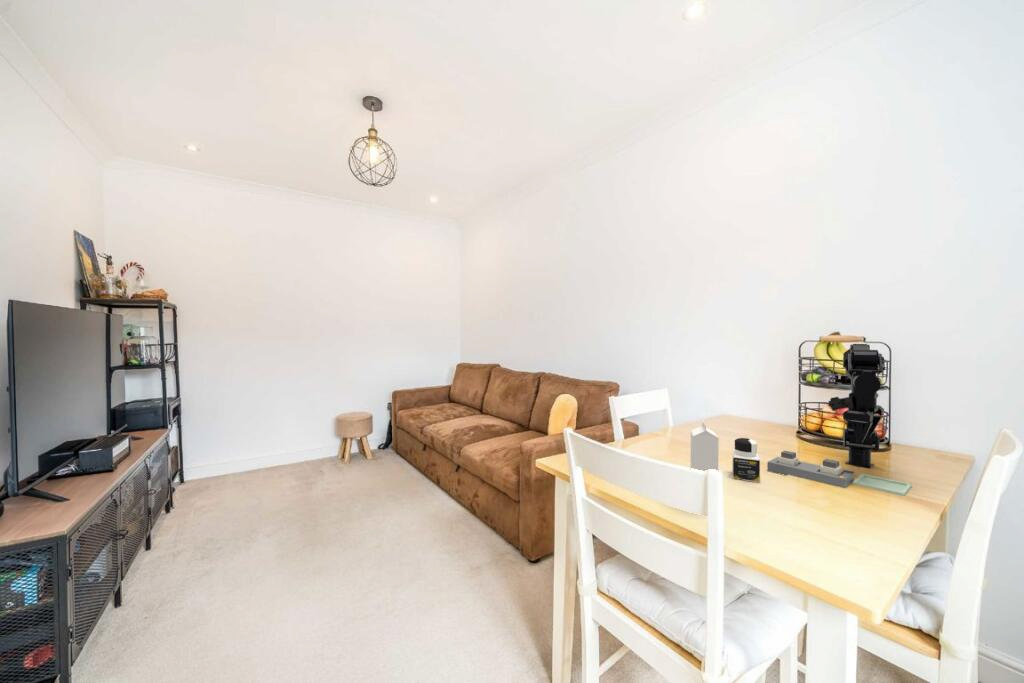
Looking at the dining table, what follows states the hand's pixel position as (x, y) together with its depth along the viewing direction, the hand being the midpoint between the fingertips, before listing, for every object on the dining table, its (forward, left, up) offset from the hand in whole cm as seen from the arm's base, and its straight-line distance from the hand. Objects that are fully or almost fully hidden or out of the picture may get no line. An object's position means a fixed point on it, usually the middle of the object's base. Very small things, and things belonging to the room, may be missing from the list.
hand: (863, 440), depth 122 cm
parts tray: (+4, +5, -12) cm, 14 cm away
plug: (+11, -5, -12) cm, 17 cm away
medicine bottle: (+27, -23, -12) cm, 38 cm away
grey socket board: (+11, -11, -12) cm, 20 cm away
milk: (+57, -21, -12) cm, 62 cm away
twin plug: (+11, -17, -12) cm, 23 cm away
